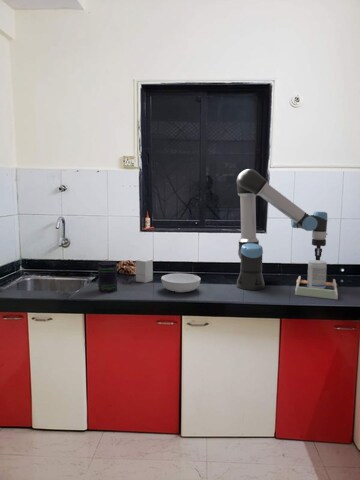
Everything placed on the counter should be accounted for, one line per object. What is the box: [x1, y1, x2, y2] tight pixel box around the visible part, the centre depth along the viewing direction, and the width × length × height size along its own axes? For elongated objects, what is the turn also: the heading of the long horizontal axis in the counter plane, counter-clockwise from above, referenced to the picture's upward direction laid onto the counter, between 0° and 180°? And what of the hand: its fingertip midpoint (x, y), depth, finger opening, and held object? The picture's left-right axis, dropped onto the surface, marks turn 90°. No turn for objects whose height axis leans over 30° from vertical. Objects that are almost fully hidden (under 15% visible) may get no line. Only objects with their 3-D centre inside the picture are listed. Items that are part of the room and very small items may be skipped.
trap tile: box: [295, 279, 338, 287], centre depth 205 cm, size 22×7×1 cm, turn 68°
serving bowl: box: [160, 272, 201, 293], centre depth 187 cm, size 21×21×7 cm
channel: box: [294, 275, 339, 300], centre depth 193 cm, size 20×34×4 cm, turn 158°
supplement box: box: [135, 258, 154, 284], centre depth 206 cm, size 7×7×13 cm
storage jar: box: [97, 260, 118, 294], centre depth 185 cm, size 10×10×15 cm
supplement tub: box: [306, 259, 327, 289], centre depth 195 cm, size 10×10×15 cm
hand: (316, 278), depth 205 cm, fingers closed
